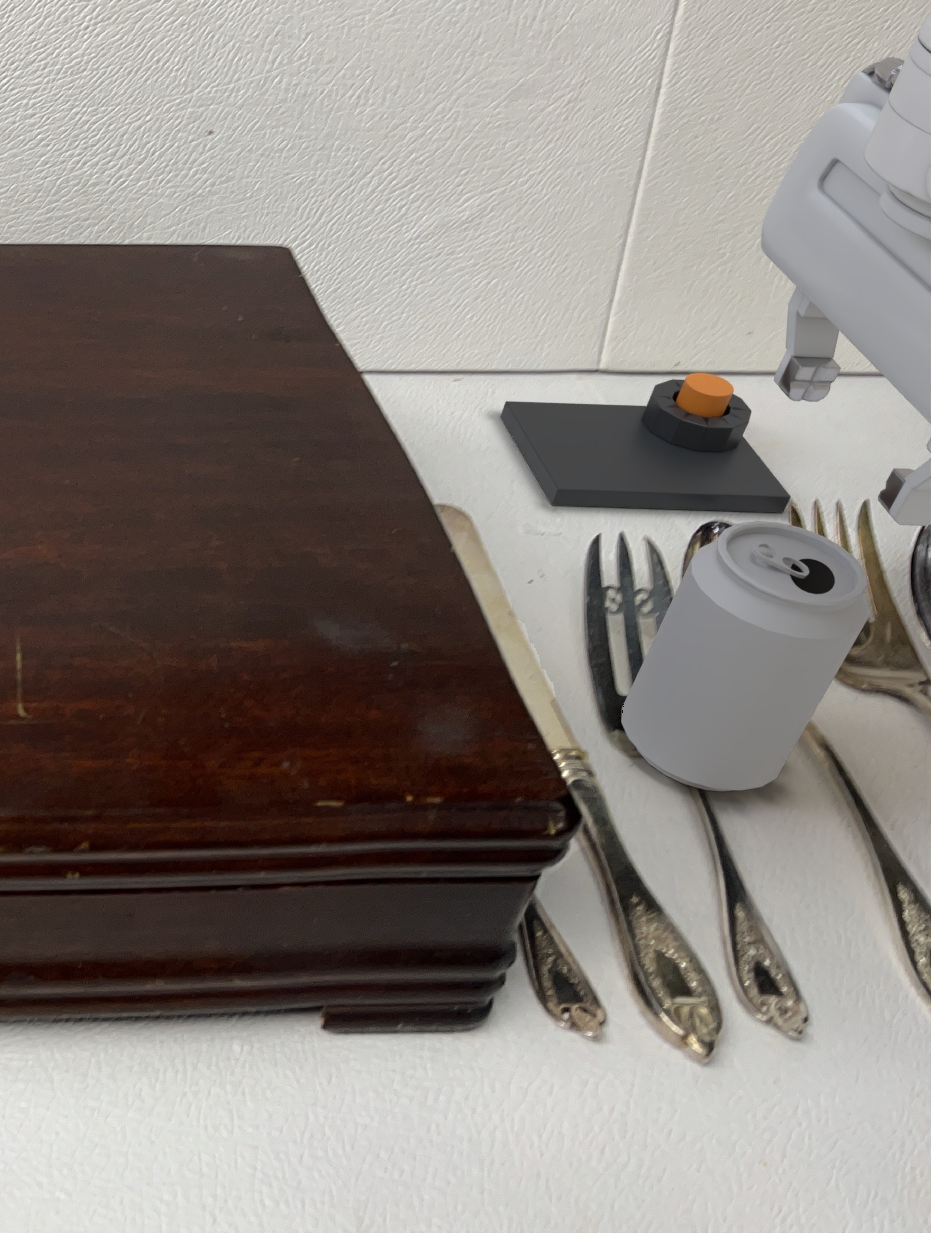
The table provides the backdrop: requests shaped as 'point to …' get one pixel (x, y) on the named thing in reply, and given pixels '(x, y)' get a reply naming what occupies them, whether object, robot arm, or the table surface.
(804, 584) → the can
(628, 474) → the black flat block
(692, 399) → the button
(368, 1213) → the table surface
